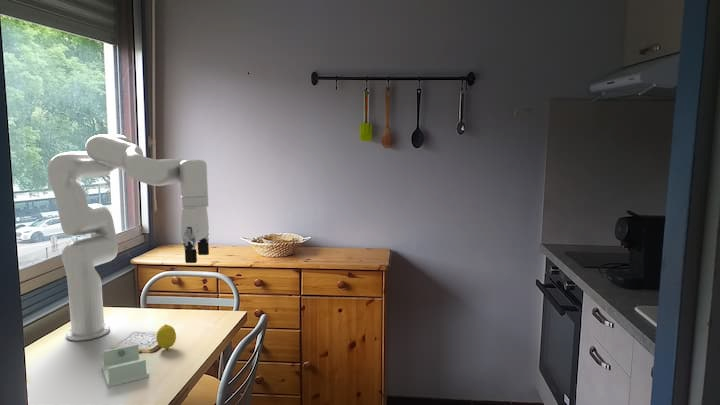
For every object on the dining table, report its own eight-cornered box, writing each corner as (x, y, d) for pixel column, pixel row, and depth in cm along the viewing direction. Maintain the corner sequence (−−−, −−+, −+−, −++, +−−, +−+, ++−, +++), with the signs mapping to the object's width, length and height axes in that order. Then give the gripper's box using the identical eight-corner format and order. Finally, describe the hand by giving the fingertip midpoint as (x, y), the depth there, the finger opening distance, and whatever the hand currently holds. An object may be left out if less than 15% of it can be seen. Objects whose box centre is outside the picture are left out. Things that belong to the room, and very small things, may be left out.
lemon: (169, 354, 144) (168, 328, 142) (153, 352, 145) (152, 327, 144) (180, 346, 149) (179, 321, 148) (164, 344, 150) (163, 320, 149)
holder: (102, 367, 135) (100, 351, 134) (140, 359, 140) (139, 342, 140) (107, 387, 124) (106, 369, 123) (148, 377, 130) (147, 359, 129)
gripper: (193, 198, 149) (196, 251, 151) (169, 205, 132) (172, 266, 134) (217, 198, 149) (219, 252, 151) (196, 205, 132) (199, 266, 134)
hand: (197, 258), depth 142 cm, fingers open, 9 cm apart
